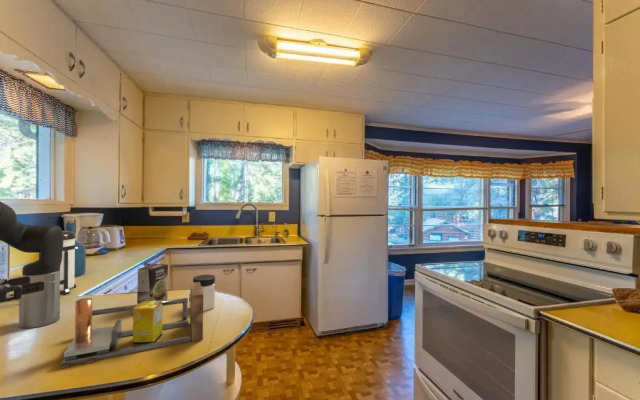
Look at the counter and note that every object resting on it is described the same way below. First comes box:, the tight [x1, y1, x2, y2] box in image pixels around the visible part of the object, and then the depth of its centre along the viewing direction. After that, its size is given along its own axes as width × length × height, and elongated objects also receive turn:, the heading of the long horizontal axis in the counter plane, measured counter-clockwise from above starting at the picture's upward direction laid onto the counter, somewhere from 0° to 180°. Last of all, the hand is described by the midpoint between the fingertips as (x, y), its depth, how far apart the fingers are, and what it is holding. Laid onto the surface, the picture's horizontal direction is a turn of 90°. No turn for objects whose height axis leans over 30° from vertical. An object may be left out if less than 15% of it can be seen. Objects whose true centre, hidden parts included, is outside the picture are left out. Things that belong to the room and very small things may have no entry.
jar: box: [192, 274, 216, 312], centre depth 112 cm, size 9×8×12 cm
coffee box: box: [136, 263, 169, 305], centre depth 112 cm, size 9×6×16 cm
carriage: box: [63, 297, 122, 361], centre depth 81 cm, size 11×13×13 cm
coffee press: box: [37, 225, 77, 296], centre depth 125 cm, size 17×16×30 cm
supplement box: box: [132, 301, 163, 346], centre depth 86 cm, size 6×6×11 cm
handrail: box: [92, 297, 189, 321], centre depth 95 cm, size 30×2×8 cm, turn 117°
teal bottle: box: [64, 219, 87, 278], centre depth 153 cm, size 14×13×30 cm
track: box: [60, 319, 191, 369], centre depth 85 cm, size 30×15×1 cm, turn 117°
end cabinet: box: [188, 282, 204, 342], centre depth 92 cm, size 4×14×14 cm, turn 27°
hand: (36, 282), depth 70 cm, fingers open, 8 cm apart
